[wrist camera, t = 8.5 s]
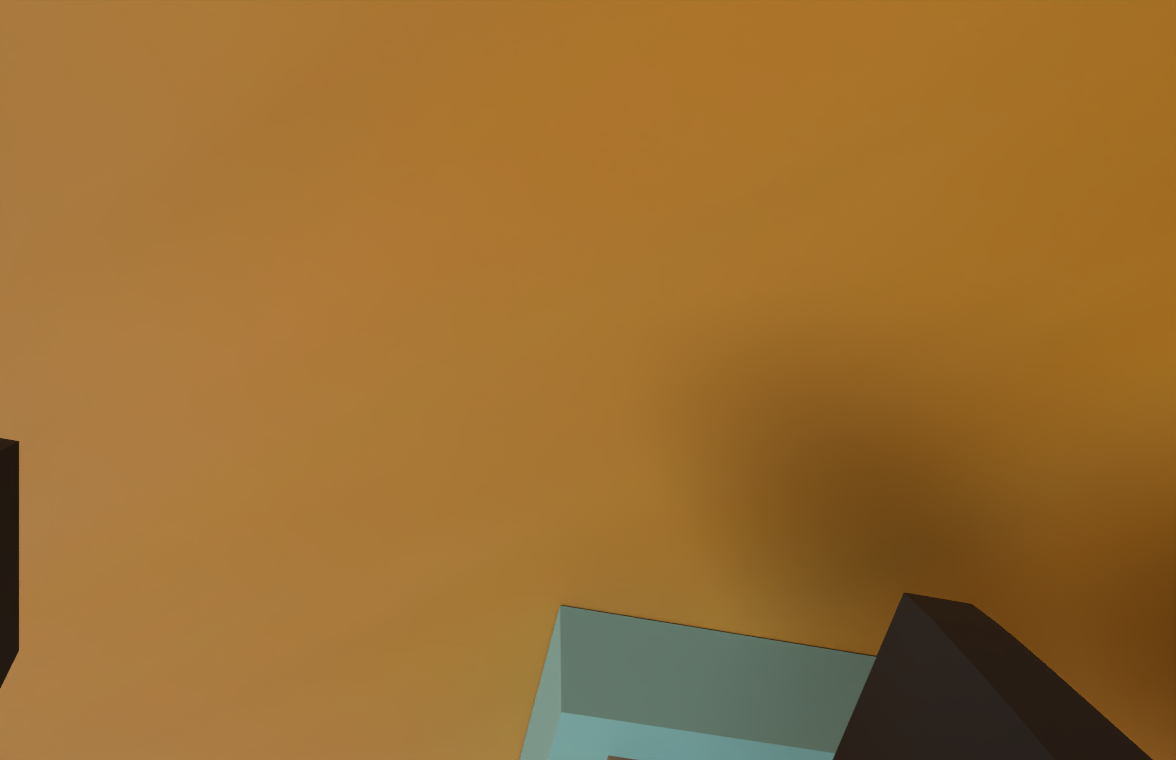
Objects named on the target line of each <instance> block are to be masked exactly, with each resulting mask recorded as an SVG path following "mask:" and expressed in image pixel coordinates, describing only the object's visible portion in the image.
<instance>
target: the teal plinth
mask: <svg viewBox="0 0 1176 760" xmlns="http://www.w3.org/2000/svg"><path fill="white" fill-rule="evenodd" d="M875 659H876V657H874V656H868V655H862V654H855V653H849V652H843V651H837V650H831V649H825V648H818V647H812V646H806V645H800V644H794V643H788V642H782V641H775V640H769V639H763V638H757V637H751V636H745V635H739V634H732V633H726V632H720V631H714V630H708V629H702V628H695V627H689V626H683V625H677V624H671V623H665V622H659V621H652V620H646V619H640V618H634V617H628V616H622V615H615V614H609V613H603V612H597V611H591V610H585V609H579V608H572V607H566V606H560V608H559V611H558V615H557V619H556V623H555V627H554V630H553V634H552V638H551V642H550V646H549V649H548V653H547V657H546V661H545V665H544V668H543V672H542V676H541V680H540V684H539V688H538V691H537V695H536V699H535V703H534V707H533V710H532V714H531V718H530V722H529V726H528V729H527V733H526V737H525V741H524V745H523V749H522V752H521V756H520V760H607V758H608V755H609V756H616V757H623V758H629V759H636V760H833V758H834V755H835V753H836V751H837V748H838V746H839V744H840V741H841V739H842V736H843V734H844V732H845V729H846V727H847V725H848V722H849V720H850V718H851V715H852V713H853V711H854V708H855V706H856V704H857V701H858V699H859V697H860V694H861V692H862V690H863V687H864V685H865V683H866V680H867V678H868V675H869V673H870V671H871V668H872V666H873V664H874V661H875Z"/></svg>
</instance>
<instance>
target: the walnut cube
mask: <svg viewBox="0 0 1176 760" xmlns="http://www.w3.org/2000/svg"><path fill="white" fill-rule="evenodd" d="M607 760H636V759H629V758H623V757H616V756H609V755H608V758H607Z"/></svg>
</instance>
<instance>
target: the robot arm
mask: <svg viewBox="0 0 1176 760" xmlns="http://www.w3.org/2000/svg"><path fill="white" fill-rule="evenodd" d="M18 651H19V441H14V440H8V439H2V438H0V688H1V686H2V684H3V682H4V680H5V678H6V676H7V674H8V672H9V669H10V667H11V665H12V663H13V661H14V659H15V657H16V655H17V653H18ZM833 760H1152V759H1151V758H1150V757H1149V756H1148V755H1147V754H1146V753H1145V752H1143V751H1142V750H1141V749H1140V748H1139V747H1138V746H1137V745H1136V744H1134V743H1133V742H1132V741H1131V740H1130V739H1129V738H1128V737H1127V736H1125V735H1124V734H1123V733H1122V732H1121V731H1120V730H1119V729H1118V728H1116V727H1115V726H1114V725H1113V724H1112V723H1111V722H1110V721H1109V720H1108V719H1106V718H1105V717H1104V716H1103V715H1102V714H1101V713H1100V712H1099V711H1097V710H1096V709H1095V708H1094V707H1093V706H1092V705H1091V704H1090V703H1088V702H1087V701H1086V700H1085V699H1084V698H1083V697H1082V696H1081V695H1080V694H1078V693H1077V692H1076V691H1075V690H1074V689H1073V688H1072V687H1071V686H1069V685H1068V684H1067V683H1066V682H1065V681H1064V680H1063V679H1062V678H1060V677H1059V676H1058V675H1057V674H1056V673H1055V672H1054V671H1053V670H1051V669H1050V668H1049V667H1048V666H1047V665H1046V664H1045V663H1043V662H1042V661H1041V660H1040V659H1039V658H1038V657H1037V656H1035V655H1034V654H1033V653H1032V652H1031V651H1030V650H1028V649H1027V648H1026V647H1025V646H1024V645H1023V644H1022V643H1020V642H1019V641H1018V640H1017V639H1016V638H1014V637H1013V636H1012V635H1011V634H1010V633H1008V632H1007V631H1006V630H1005V629H1004V628H1002V627H1001V626H1000V625H999V624H997V623H996V622H995V621H994V620H992V619H991V618H990V617H988V616H987V615H986V614H984V613H983V612H982V611H980V610H979V609H978V608H976V607H975V606H974V605H972V604H969V603H963V602H957V601H951V600H945V599H939V598H934V597H928V596H922V595H916V594H910V593H903V596H902V598H901V600H900V603H899V605H898V607H897V610H896V612H895V615H894V617H893V619H892V622H891V624H890V626H889V629H888V631H887V633H886V636H885V638H884V640H883V643H882V645H881V647H880V650H879V652H878V654H877V657H876V659H875V661H874V664H873V666H872V668H871V671H870V673H869V675H868V678H867V680H866V683H865V685H864V687H863V690H862V692H861V694H860V697H859V699H858V701H857V704H856V706H855V708H854V711H853V713H852V715H851V718H850V720H849V722H848V725H847V727H846V729H845V732H844V734H843V736H842V739H841V741H840V744H839V746H838V748H837V751H836V753H835V755H834V758H833Z"/></svg>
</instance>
